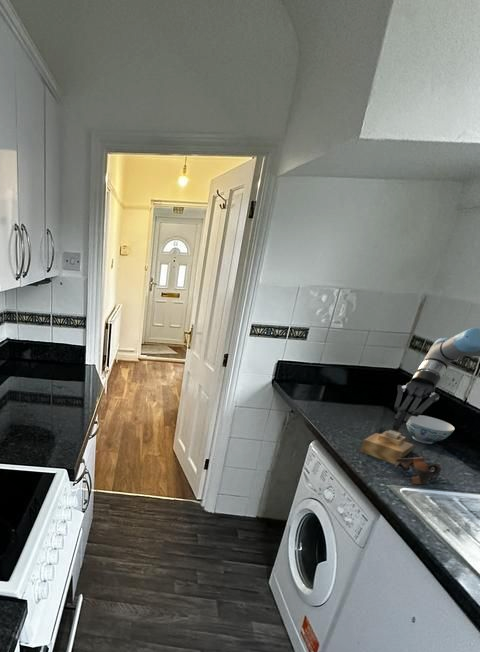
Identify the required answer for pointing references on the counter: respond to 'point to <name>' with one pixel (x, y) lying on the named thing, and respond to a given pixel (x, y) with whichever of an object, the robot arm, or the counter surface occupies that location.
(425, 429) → the chinaware
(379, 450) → the stepped wooden block
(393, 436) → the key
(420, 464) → the brown toy vehicle
